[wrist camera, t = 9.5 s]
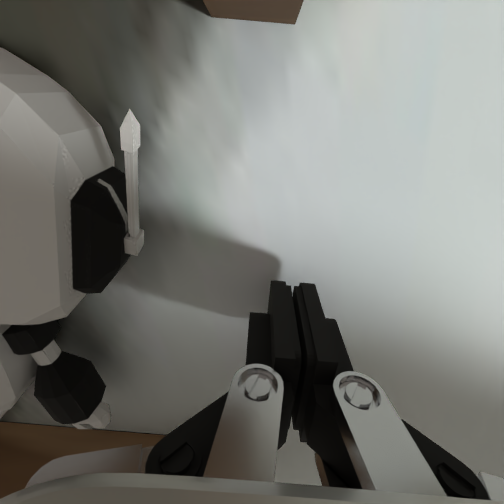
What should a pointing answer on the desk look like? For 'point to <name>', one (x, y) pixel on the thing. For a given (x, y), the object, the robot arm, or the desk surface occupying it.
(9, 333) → the robot toy
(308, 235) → the desk surface
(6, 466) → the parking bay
